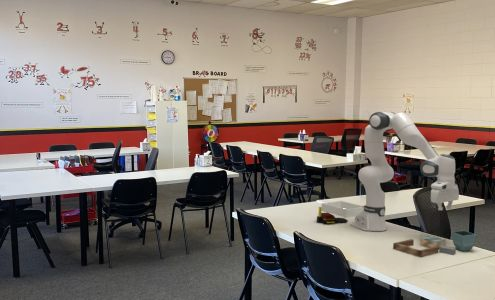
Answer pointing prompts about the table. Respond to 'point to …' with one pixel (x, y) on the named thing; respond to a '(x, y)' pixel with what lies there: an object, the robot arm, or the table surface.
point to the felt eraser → (447, 250)
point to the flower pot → (463, 240)
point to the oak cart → (432, 242)
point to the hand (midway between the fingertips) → (444, 209)
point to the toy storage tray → (338, 208)
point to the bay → (420, 253)
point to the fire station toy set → (329, 218)
